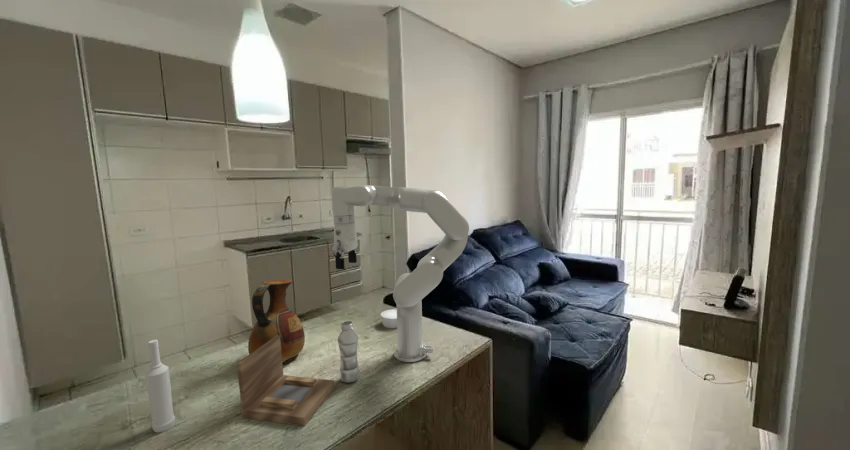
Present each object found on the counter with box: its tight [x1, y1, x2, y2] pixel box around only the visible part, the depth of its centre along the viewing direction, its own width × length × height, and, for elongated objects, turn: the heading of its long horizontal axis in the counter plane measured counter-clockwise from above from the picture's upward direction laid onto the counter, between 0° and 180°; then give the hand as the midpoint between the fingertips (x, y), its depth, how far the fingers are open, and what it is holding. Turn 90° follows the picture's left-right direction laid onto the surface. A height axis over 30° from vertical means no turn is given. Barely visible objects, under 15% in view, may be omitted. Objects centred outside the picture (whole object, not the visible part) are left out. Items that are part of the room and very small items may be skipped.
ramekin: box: [380, 308, 397, 329], centre depth 161 cm, size 11×11×5 cm
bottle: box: [144, 339, 176, 433], centre depth 94 cm, size 5×5×25 cm
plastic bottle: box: [337, 320, 361, 384], centre depth 115 cm, size 6×7×20 cm
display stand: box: [236, 335, 336, 427], centre depth 104 cm, size 20×18×16 cm
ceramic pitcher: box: [247, 278, 306, 363], centre depth 131 cm, size 20×20×30 cm
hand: (346, 265), depth 129 cm, fingers open, 9 cm apart
